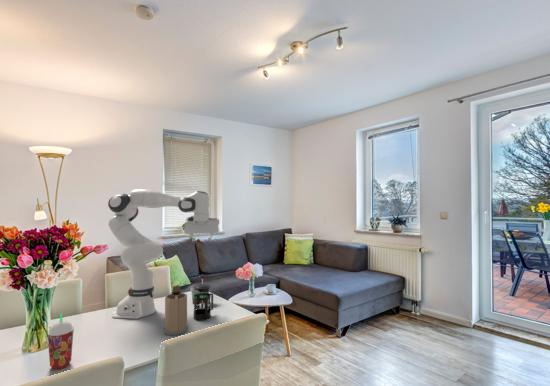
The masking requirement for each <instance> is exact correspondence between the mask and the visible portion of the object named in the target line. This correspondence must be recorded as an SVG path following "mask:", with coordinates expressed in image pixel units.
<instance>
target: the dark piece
mask: <svg viewBox="0 0 550 386" xmlns="http://www.w3.org/2000/svg"><path fill="white" fill-rule="evenodd" d="M189 290H190V292H191V299H192V304H193V305H194V295H195V294H199V293H201V292H199V291H198V290H195V288H194V286H192V285H191V286H190V289H189ZM203 293H209V294H210V291H208V292H203ZM206 297H208V296H206V295H203V298H206ZM196 298H197V297H196ZM200 298H202V295H201V296H200ZM200 303H202V301H200ZM203 303H205V300H203ZM196 304H197V300H196Z"/></svg>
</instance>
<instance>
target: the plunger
mask: <svg viewBox="0 0 550 386" xmlns="http://www.w3.org/2000/svg"><path fill="white" fill-rule="evenodd" d="M180 293H181V285H179V284H175V285H172V293H171V294H173V295H175V299H177V295H178V294H180Z"/></svg>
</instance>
